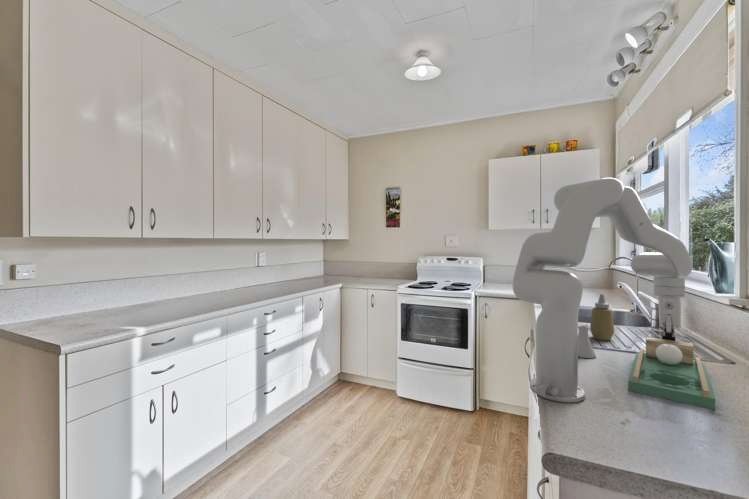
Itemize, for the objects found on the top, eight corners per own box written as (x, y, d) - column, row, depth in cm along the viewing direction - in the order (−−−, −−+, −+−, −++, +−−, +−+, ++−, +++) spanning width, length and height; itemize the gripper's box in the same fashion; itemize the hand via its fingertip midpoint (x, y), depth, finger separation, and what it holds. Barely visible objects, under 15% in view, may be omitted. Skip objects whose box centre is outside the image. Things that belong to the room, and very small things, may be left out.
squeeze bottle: (591, 335, 139) (591, 292, 139) (615, 338, 134) (615, 293, 134) (588, 339, 133) (588, 294, 133) (613, 343, 128) (613, 296, 128)
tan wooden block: (646, 353, 108) (646, 337, 108) (692, 360, 101) (692, 343, 100) (645, 356, 105) (645, 339, 105) (693, 364, 98) (693, 346, 97)
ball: (682, 369, 94) (683, 348, 94) (655, 364, 98) (655, 344, 98) (682, 363, 99) (682, 343, 99) (655, 359, 103) (655, 340, 103)
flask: (600, 359, 111) (601, 329, 111) (579, 359, 111) (579, 329, 111) (587, 352, 118) (587, 323, 118) (566, 352, 118) (566, 324, 118)
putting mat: (636, 359, 110) (636, 347, 110) (704, 371, 99) (704, 358, 99) (628, 390, 87) (628, 375, 87) (715, 409, 77) (715, 392, 77)
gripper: (685, 295, 99) (685, 356, 99) (683, 289, 110) (683, 345, 110) (652, 293, 104) (652, 351, 104) (654, 288, 115) (654, 340, 115)
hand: (668, 348), depth 107 cm, fingers closed
